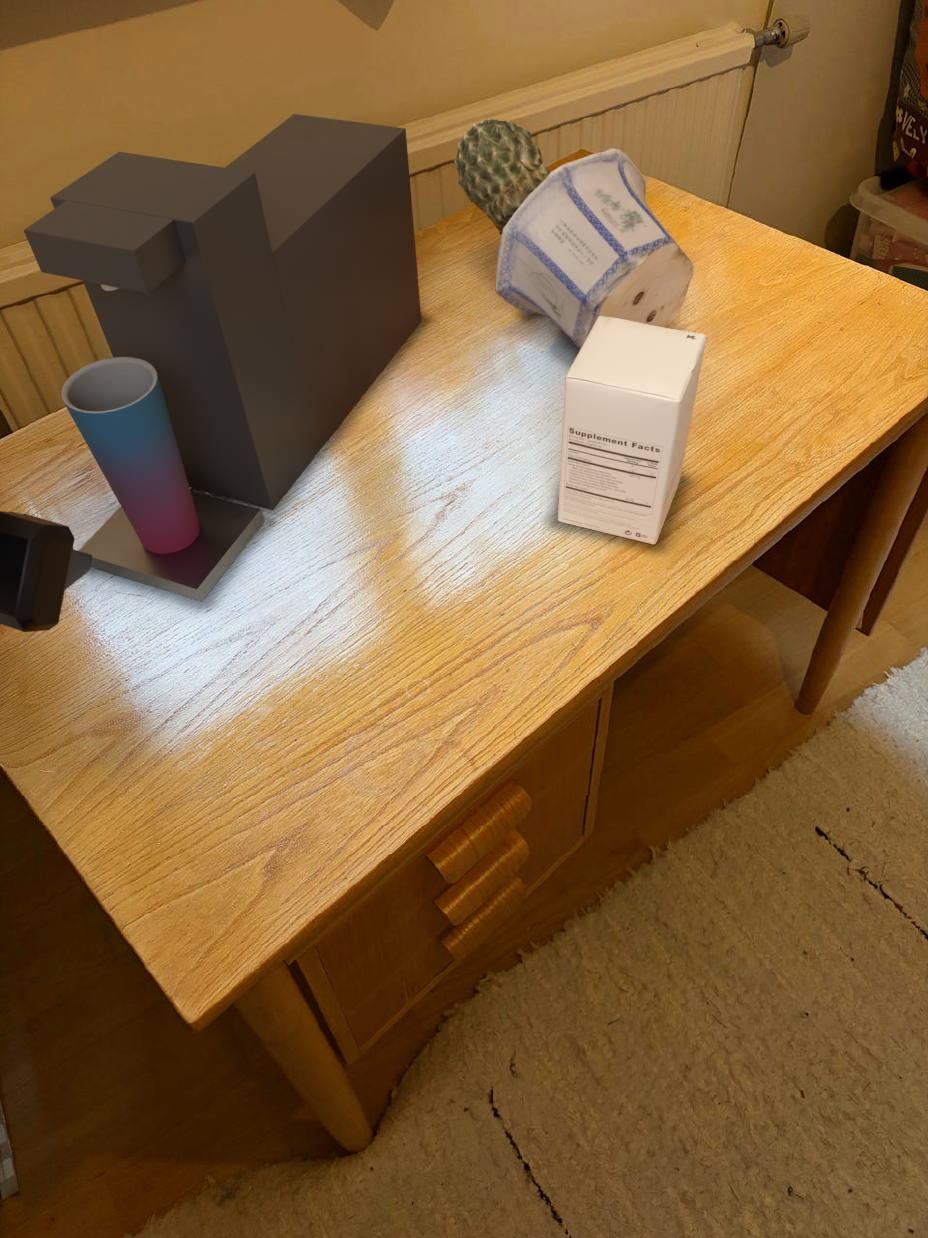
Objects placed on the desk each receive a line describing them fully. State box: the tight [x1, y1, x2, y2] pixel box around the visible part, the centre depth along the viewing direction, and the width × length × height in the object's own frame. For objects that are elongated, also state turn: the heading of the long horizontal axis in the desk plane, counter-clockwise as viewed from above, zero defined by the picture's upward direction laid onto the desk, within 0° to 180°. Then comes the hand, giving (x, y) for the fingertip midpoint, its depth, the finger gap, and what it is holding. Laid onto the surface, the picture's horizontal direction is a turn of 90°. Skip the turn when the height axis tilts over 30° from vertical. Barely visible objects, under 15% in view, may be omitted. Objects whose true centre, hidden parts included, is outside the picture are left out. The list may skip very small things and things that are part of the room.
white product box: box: [557, 316, 707, 545], centre depth 71 cm, size 9×9×15 cm
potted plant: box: [453, 117, 694, 350], centre depth 91 cm, size 18×18×30 cm
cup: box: [60, 357, 200, 554], centre depth 69 cm, size 7×7×15 cm
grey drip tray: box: [78, 489, 265, 602], centre depth 75 cm, size 10×12×2 cm
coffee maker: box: [23, 113, 422, 511], centre depth 78 cm, size 37×12×26 cm, turn 158°
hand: (34, 545), depth 60 cm, fingers open, 9 cm apart
